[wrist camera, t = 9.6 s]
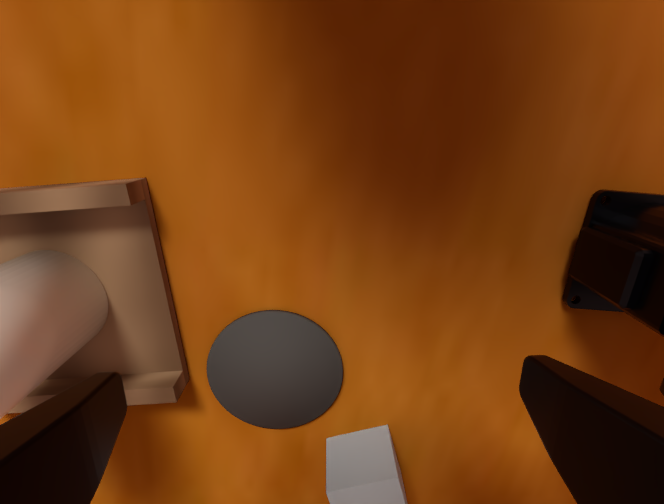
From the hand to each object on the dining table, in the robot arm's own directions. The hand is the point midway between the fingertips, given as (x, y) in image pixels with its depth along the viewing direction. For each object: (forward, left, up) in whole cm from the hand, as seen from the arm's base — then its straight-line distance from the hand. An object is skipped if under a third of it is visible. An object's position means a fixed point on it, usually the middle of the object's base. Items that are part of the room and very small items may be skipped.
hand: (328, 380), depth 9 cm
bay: (+14, +5, -13) cm, 20 cm away
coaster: (+2, +9, -13) cm, 16 cm away
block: (-4, +15, -13) cm, 20 cm away
